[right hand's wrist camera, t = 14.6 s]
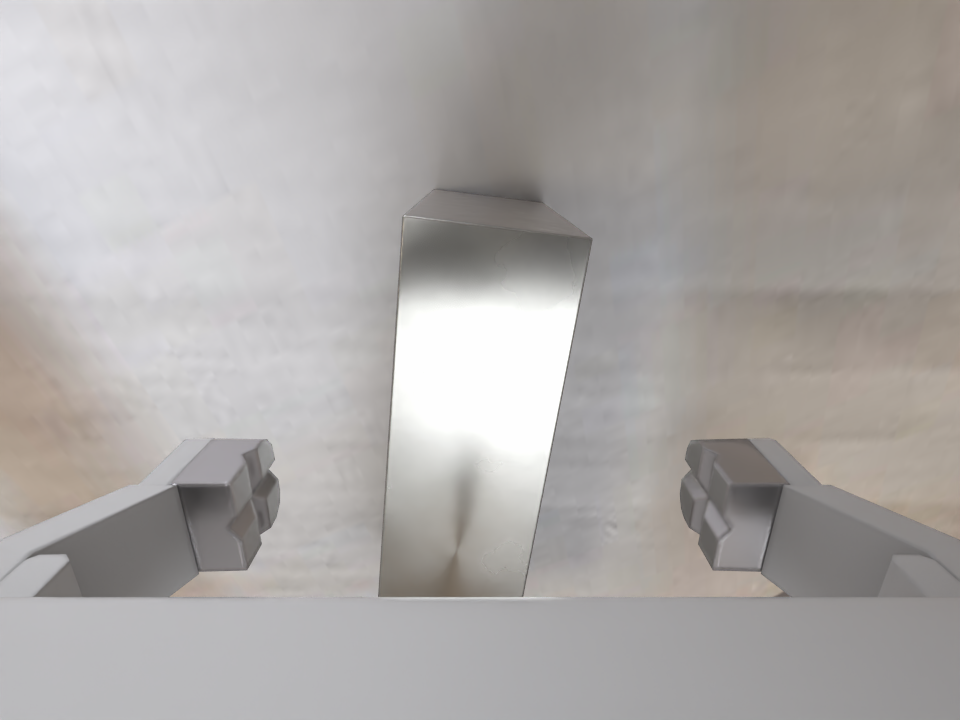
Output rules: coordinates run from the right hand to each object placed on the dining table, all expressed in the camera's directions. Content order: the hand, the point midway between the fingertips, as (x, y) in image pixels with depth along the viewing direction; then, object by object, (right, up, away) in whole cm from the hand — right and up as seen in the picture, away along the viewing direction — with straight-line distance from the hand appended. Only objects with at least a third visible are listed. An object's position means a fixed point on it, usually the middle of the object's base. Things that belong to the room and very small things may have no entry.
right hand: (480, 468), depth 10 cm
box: (-1, -1, +23) cm, 23 cm away
